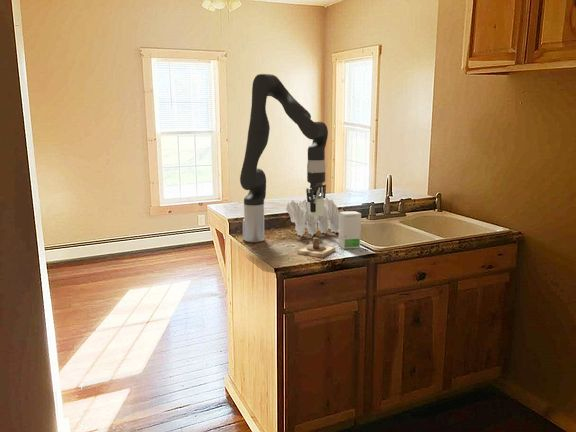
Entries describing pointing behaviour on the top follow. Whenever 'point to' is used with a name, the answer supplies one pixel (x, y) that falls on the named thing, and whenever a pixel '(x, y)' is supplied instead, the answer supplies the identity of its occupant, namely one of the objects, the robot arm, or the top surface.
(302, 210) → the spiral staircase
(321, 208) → the pale green cylinder
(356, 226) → the skincare box
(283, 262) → the top surface
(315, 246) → the post
